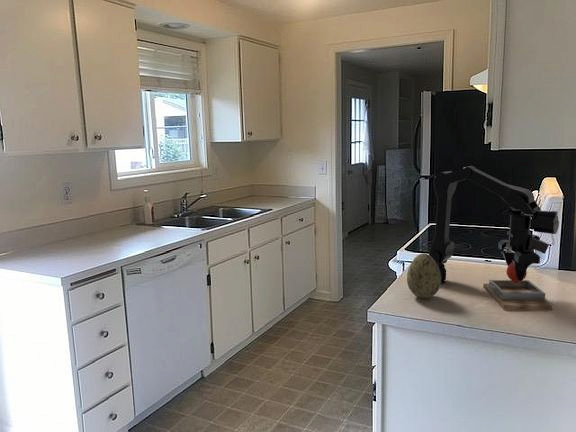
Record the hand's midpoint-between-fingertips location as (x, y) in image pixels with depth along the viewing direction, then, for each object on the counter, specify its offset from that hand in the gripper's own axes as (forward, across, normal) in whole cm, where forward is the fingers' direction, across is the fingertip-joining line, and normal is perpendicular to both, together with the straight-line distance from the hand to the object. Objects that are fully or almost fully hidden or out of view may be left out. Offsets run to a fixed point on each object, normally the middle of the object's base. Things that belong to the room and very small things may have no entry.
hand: (516, 277), depth 150 cm
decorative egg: (+8, 0, +29) cm, 30 cm away
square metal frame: (+6, 0, 0) cm, 6 cm away
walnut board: (+7, 0, 0) cm, 7 cm away
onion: (+2, 0, 0) cm, 2 cm away
